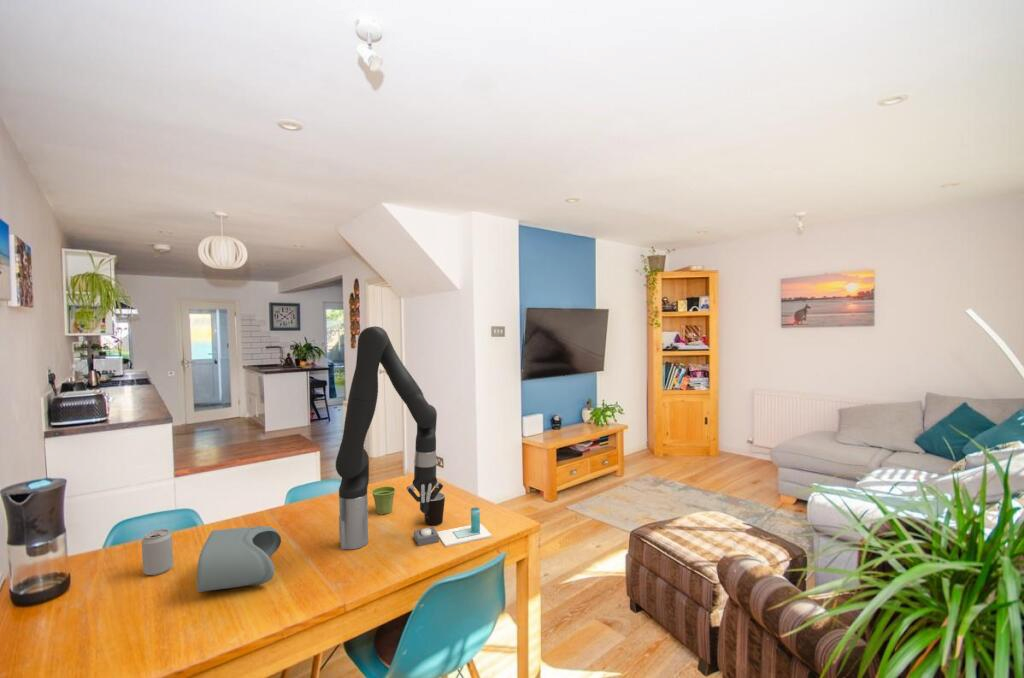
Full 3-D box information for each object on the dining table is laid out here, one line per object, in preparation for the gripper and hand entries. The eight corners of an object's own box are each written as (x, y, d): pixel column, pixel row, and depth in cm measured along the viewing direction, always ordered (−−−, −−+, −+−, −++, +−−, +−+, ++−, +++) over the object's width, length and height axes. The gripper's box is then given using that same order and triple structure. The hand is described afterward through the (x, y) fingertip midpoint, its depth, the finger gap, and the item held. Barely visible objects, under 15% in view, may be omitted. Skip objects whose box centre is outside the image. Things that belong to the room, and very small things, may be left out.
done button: (422, 542, 164) (422, 533, 164) (419, 537, 168) (419, 529, 167) (432, 540, 166) (432, 531, 166) (429, 535, 169) (429, 527, 169)
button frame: (418, 546, 162) (418, 538, 162) (413, 537, 168) (413, 530, 168) (438, 541, 165) (438, 534, 165) (433, 533, 171) (433, 526, 171)
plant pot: (367, 514, 188) (366, 493, 187) (380, 505, 197) (379, 485, 196) (388, 517, 185) (387, 495, 185) (400, 508, 194) (400, 487, 194)
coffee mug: (443, 527, 176) (443, 500, 176) (420, 527, 177) (419, 500, 176) (448, 514, 188) (447, 489, 188) (426, 514, 188) (426, 489, 188)
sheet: (445, 547, 161) (445, 545, 161) (436, 533, 171) (436, 531, 171) (491, 536, 168) (491, 535, 168) (480, 524, 178) (480, 522, 178)
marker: (472, 533, 169) (472, 511, 169) (469, 530, 172) (469, 508, 172) (481, 532, 171) (481, 510, 170) (478, 528, 174) (477, 506, 173)
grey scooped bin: (214, 564, 151) (215, 524, 150) (280, 556, 158) (281, 517, 157) (195, 603, 130) (196, 556, 130) (273, 591, 137) (274, 547, 137)
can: (138, 578, 143) (136, 539, 142) (149, 566, 150) (148, 528, 150) (167, 575, 145) (165, 536, 144) (177, 562, 152) (175, 525, 152)
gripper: (408, 468, 159) (407, 519, 160) (447, 464, 165) (445, 513, 166) (403, 461, 166) (402, 510, 167) (440, 458, 172) (439, 505, 173)
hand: (424, 512), depth 166 cm, fingers closed
